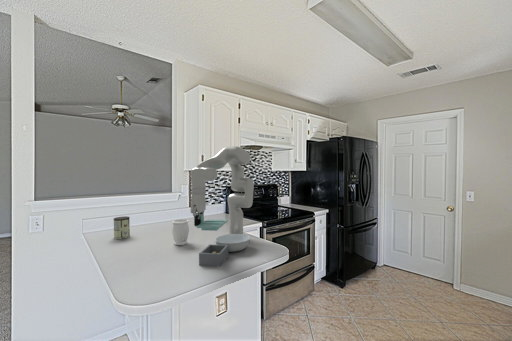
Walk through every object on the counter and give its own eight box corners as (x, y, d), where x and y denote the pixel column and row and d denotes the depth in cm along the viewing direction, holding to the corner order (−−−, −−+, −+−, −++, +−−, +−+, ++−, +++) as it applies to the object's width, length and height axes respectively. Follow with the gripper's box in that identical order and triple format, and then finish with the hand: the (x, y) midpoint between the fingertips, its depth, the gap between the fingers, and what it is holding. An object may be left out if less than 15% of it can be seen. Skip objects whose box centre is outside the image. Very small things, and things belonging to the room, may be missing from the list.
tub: (209, 255, 138) (209, 244, 138) (228, 255, 136) (228, 245, 136) (199, 265, 123) (198, 253, 123) (220, 266, 121) (219, 254, 121)
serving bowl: (232, 242, 162) (232, 231, 162) (257, 248, 149) (257, 237, 149) (208, 250, 146) (207, 239, 146) (233, 258, 133) (232, 245, 133)
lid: (201, 223, 139) (201, 212, 139) (227, 224, 137) (227, 212, 137) (189, 230, 124) (189, 217, 124) (218, 231, 121) (218, 218, 121)
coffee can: (119, 235, 184) (119, 216, 184) (132, 235, 183) (132, 216, 183) (110, 238, 174) (110, 219, 174) (124, 239, 173) (123, 219, 173)
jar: (184, 246, 154) (183, 222, 154) (169, 245, 156) (168, 222, 156) (191, 241, 165) (191, 219, 165) (177, 240, 167) (177, 218, 167)
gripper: (198, 189, 140) (198, 221, 140) (185, 192, 123) (185, 229, 124) (210, 189, 139) (211, 222, 139) (199, 192, 122) (199, 229, 122)
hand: (199, 225), depth 131 cm, fingers closed on lid, 3 cm apart
